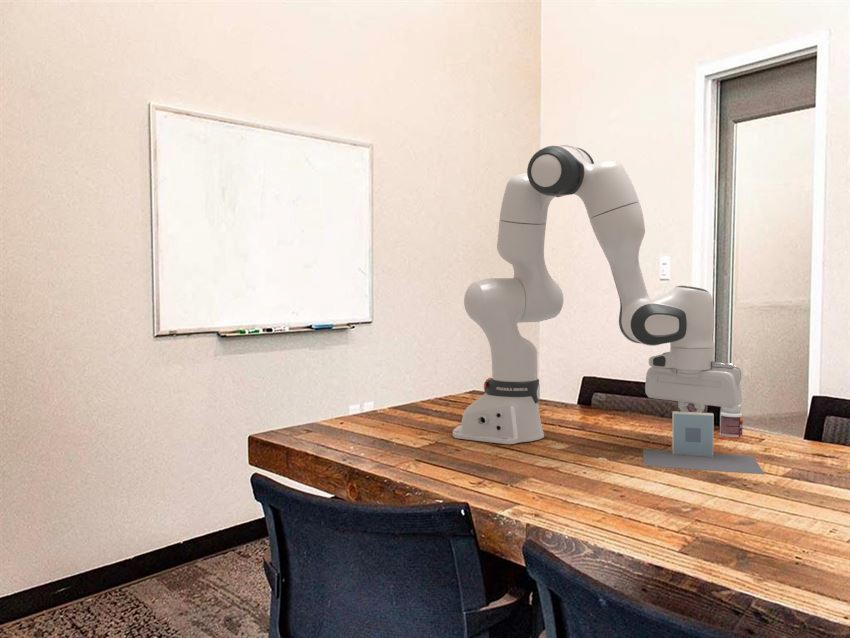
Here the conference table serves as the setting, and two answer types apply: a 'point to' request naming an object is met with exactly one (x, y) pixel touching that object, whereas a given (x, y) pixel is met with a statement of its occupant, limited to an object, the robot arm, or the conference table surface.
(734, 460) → the mat
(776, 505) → the conference table surface
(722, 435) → the pill bottle
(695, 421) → the tile
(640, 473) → the conference table surface
